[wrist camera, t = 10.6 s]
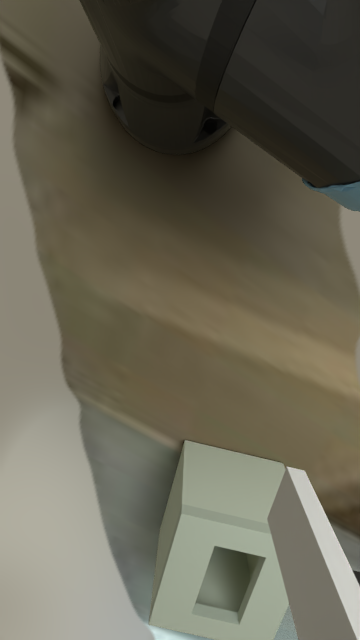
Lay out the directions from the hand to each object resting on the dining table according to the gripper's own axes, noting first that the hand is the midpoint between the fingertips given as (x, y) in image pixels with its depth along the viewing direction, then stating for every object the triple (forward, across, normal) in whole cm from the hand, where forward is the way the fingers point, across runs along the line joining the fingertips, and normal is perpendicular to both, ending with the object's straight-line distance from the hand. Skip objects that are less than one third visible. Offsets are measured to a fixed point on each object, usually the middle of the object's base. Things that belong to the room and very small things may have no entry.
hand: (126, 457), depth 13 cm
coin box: (+26, +13, -25) cm, 39 cm away
